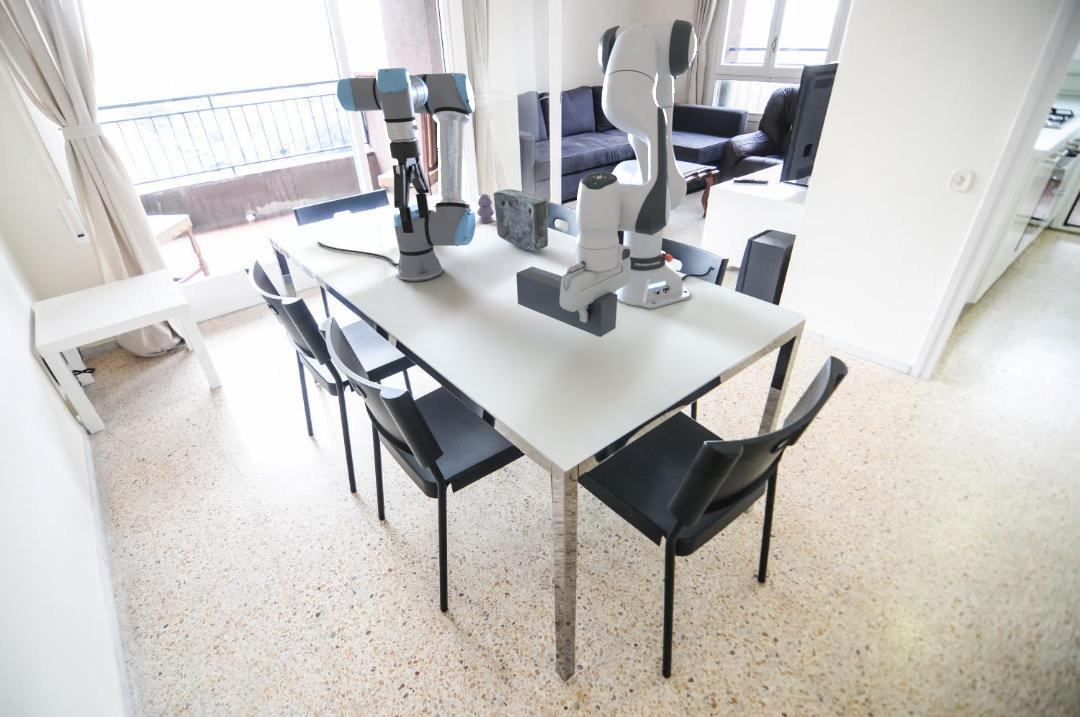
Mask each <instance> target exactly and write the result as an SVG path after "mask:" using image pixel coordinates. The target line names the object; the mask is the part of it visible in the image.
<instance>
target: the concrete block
mask: <svg viewBox="0 0 1080 717" xmlns="http://www.w3.org/2000/svg"><path fill="white" fill-rule="evenodd" d="M493 202H494V214H495V222H496V224H495V225H496V231H497V232H496V233H497V236H498V237H499V238H501V239H503V240H505V241H506V242H508V243H510V244H511V245H513V246H515V247H517V248H518V249H521V250H524V251H530V252H537V251H539V250H541V249H544V248H547V247H548V246H549V228H548V223H549V222H548V221H549V219H548V218H549V217H548V199H546V198H544V197H541V196H539V195H536V194H533V193H531V192H530V193H529V192H525V191H522V190H517V189H511V188H510V189H509V188H507V189H501V190H498V191H497V190H496V191H495V192H493Z"/></svg>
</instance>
